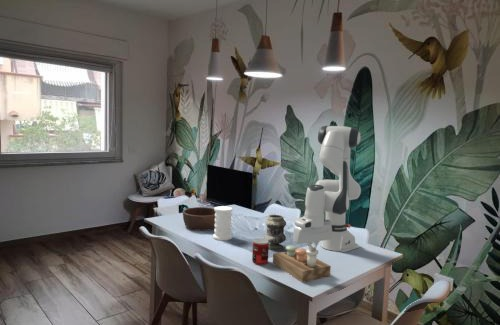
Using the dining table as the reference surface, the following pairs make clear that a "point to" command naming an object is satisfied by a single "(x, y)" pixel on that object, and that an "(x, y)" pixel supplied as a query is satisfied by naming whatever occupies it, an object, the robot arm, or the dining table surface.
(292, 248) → the sage plunger
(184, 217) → the wooden bowl
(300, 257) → the peach mushroom knob
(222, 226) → the decorative container
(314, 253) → the cream plunger
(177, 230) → the dining table surface
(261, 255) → the canned food
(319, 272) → the walnut board
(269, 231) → the apothecary jar
